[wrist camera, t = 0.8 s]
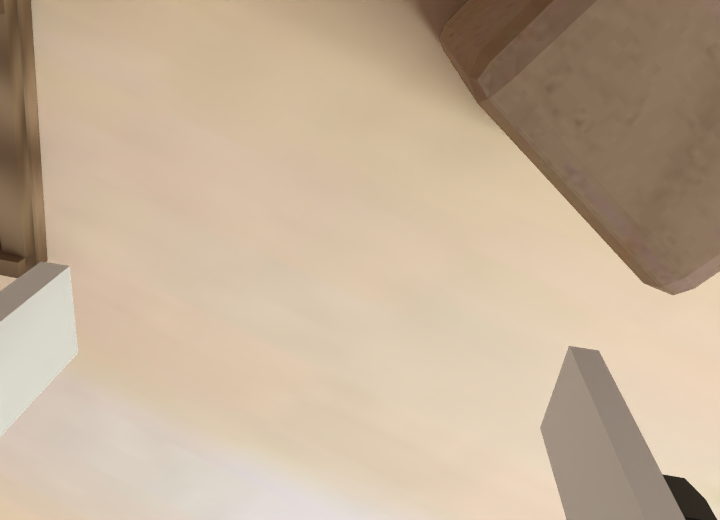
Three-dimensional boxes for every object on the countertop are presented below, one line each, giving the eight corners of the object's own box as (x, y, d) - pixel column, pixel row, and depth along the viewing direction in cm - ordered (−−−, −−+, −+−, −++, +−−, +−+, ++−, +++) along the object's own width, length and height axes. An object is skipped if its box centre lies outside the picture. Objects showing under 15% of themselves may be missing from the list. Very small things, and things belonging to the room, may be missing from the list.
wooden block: (431, 36, 33) (456, 81, 15) (572, -110, 30) (820, -276, 12) (540, 156, 36) (674, 318, 18) (683, 33, 32) (1032, 79, 14)
